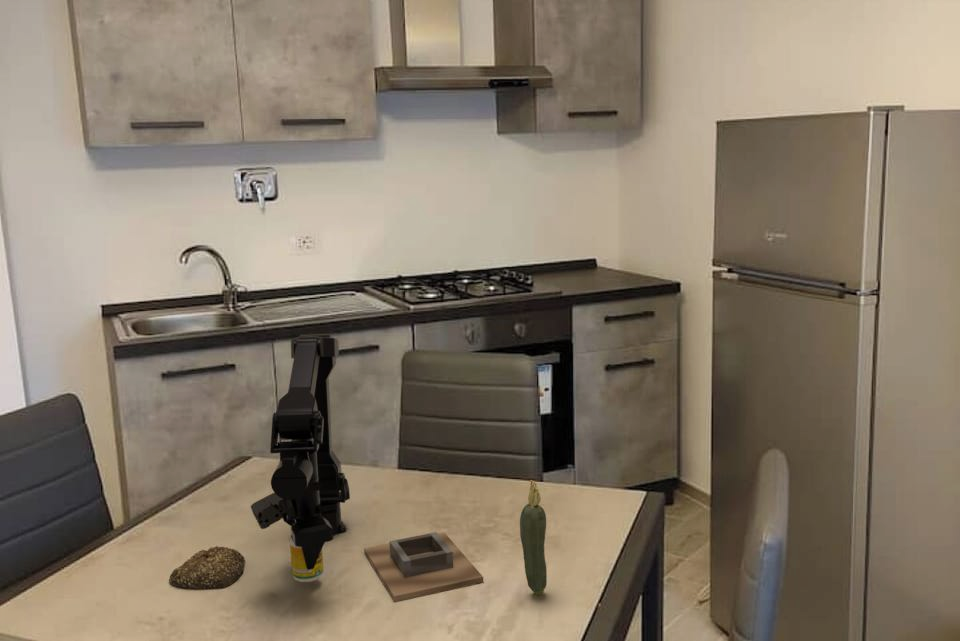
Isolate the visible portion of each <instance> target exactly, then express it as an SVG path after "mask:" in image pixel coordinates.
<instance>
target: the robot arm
mask: <svg viewBox="0 0 960 641" xmlns="http://www.w3.org/2000/svg"><path fill="white" fill-rule="evenodd" d="M339 347H340V346H339V340H338V339H337V338H335V337H333V334H332V333H317V334H316V333H315V334H314V333H313V334H299V336H298V337H297V338H296V337H295V338H294V339H290V358H291V359H293V362H292V367H291V373H290V378H289V379H290V380H289V385H288V391H287V393H285V394H284V395H283V396H282V397H281V398H280V399H279V400H278V403H277V407H276V412H273V414H272V417H271V418H272V419H271V420H272V421H271V436H270V449H269V450H270V451H269V452H270V454H279V458H280V459H279V463H278V465H277V467H276V468H275V470H274V472H273V474H272V476H271V480H270V486H271V489H272V491H273V493H271V494H268V495H266V496H264V497H263V498H261V499H258V500H257V501H255V502H253V503H252V504H251V505H250V508H251V512H252V514H253V516H254V518H255V520H256V522H257V524H258V526H259V528H260V529H261V530H264V529H268V528H270V527H271V525H273V524H276V523H278V522H279V521H280V520H283V522H284V523H286V524H287V525H289V526H290V527H291V528H290V529H291V530H290V532H291V535H290V538H292V540H293V542H294V544H295V546H297V547H301V549H302V552H303V556H304V560H305V563H306V567H307V569H308V570H310V569H314V567H315V564H316V562H317V559H318V557H319V554H320V552H321V550H322V551H323V547H324V545H325V543H327V542H331V541H332V540H334V534H338V533H345V532H346V531H347V527H346V525H345V524H344V522H343V520H342V509H341V504H342V503H343V504H344V503H346V501H348V500H350V498H351V495H350V485H349V482H348V479H347V478H346V475H345V472H343V471H342V463H341V460H340V459H339V458H338V456H337V455H336V454H335V452H334V451H333V442H332V441H333V440H332V439H333V438H332V422H331V421H332V420H331V419H332V418H331V399H330V378H329V377H331V374H332V373H333V370H334V368H335V366H336V365H337V358H338V357H339V355H340V354H339V352H340V349H339ZM279 439H280V441H279ZM284 440H285V441H284ZM287 440H289V441H287ZM295 522H296V523H295ZM294 523H295V524H294ZM293 524H294V525H293Z"/></svg>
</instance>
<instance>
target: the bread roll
mask: <svg viewBox="0 0 960 641" xmlns="http://www.w3.org/2000/svg"><path fill="white" fill-rule="evenodd" d="M245 564H246V560H245V557H244V555H243V554H242V553H241V552H239V551H238V550H237V549H234V548H230V547H225V546H217V545H216V546H214V547H209V549H207V550H206V549H202V550H199V551H198V552H195V553H194V554H193V555H192V556H191V557H190V558H189V559H187V560H186V561H184V562H183V563H182V564H181V565H180V566H178V567H175V569H174V570H173V571H172V572H171V574H170V575H169V578H168V580H169V583H170V584H171V585H173V586H175V585H176V587H180V588H186V589H187V588H188V589H202V590H203V589H222V588H227V587H229V586H230V585H231V586H232V584H233V583H235V582H236V581H238V580H239V578H240V577H241V576H242V574H243V573H244V570H245ZM238 577H239V578H238Z"/></svg>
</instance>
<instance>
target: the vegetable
mask: <svg viewBox="0 0 960 641" xmlns="http://www.w3.org/2000/svg"><path fill="white" fill-rule="evenodd" d="M527 500H528V503H527V504H526V505H525V506H524V507H523V509H522V510H521V512H520V517H519V531H520V532H519V533H520V542H521V546H522V552H523V554H522V555H523V561H524V562H523V563H524V572H525V577H526V581H527V586H528V588H529V589H530V590H531V592H533V593H534V594H535V595H536V596H537V595H538V594H543V593H544V591H545V589H546V588H547V579H548V578H547V577H548V574H547V563H546V555H545V540H546V531H547V530H546V529H547V514H546V512H545V510H544V508H543V507H542V506H541V505H540V503H541V494H540V491H539V488H538V486H537V483H536V482H535V481H534V480H532V479H530V488H529V493H528V496H527Z"/></svg>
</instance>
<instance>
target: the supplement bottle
mask: <svg viewBox="0 0 960 641" xmlns="http://www.w3.org/2000/svg"><path fill="white" fill-rule="evenodd" d="M295 523H296V522H295ZM295 523H294V524H295ZM294 524H293V525H294ZM289 548H290V562H291V574H292V578H293V579H294V580H295V581H297V582H301V583H309V582H314V581H317V580H319V579H320V578H321V577H322V576H323V575H324V558H323V549H322V550H321V552H320V554H319V557H318V559H317V562H316V564H315V567H314V569H310V570H308V569H307V567H306V563H305V560H304V556H303V552H302V549H301V547H297V546H295V544H294V542H293V540H292V538H291V537H290V539H289Z"/></svg>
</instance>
